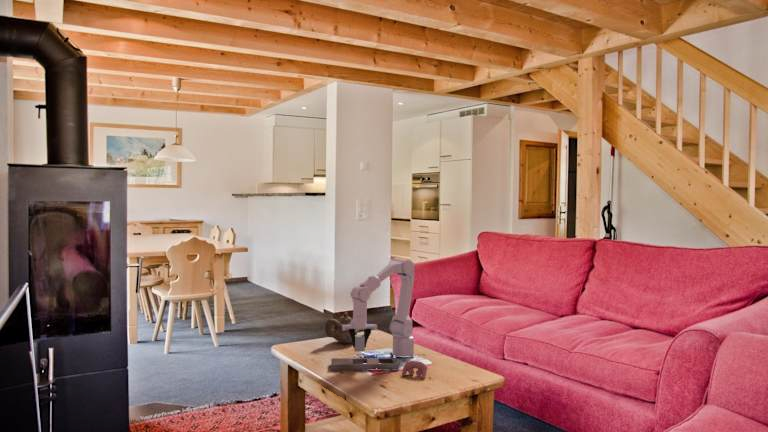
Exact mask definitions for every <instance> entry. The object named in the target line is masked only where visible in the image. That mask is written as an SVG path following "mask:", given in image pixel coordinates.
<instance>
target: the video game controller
mask: <svg viewBox="0 0 768 432" xmlns="http://www.w3.org/2000/svg"><path fill="white" fill-rule="evenodd" d="M414 369H416V371H415V370H414ZM427 371H428V366H427V365H426V364H425V363H424V362H422V361H419V360H409V361H406V362H405V363H404V365H403V368H402V371H401V376H402V377H405V376H406V375H407V373H408V374H409V375H410V376H413V375H414V374H416V376H418V377H421V378H422V380H424V379H425V378H426V377H427Z"/></svg>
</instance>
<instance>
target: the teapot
mask: <svg viewBox="0 0 768 432" xmlns="http://www.w3.org/2000/svg"><path fill="white" fill-rule="evenodd" d="M339 320H340V321H339ZM339 320H337V319H334V318H329V319H328V320H327V319H326V322H325V326H324V332H325V335H326V336H327V337H328V338H333V339H334V340H335V341H337V342H339V343H341V344H343V345H344V344H345V345H346V344H353V343H352V339H351V336H350V333H349V331H348V330H345V331H343V330H342V325H348V324H353V319H352V317H350V316H349V313H348V312H346V311H344V312H343V315H342V316H340V318H339ZM332 325H333V326H334V327H332ZM331 328H332V329H331ZM359 331H360V330H355V335H358V333H359Z"/></svg>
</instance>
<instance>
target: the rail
mask: <svg viewBox="0 0 768 432" xmlns="http://www.w3.org/2000/svg"><path fill="white" fill-rule="evenodd" d="M330 361H331V362H330V363H331V366H330V368H331V369H330V370H331V372H332V371H333V372H335V371H339V372H340V371H342V372H343V371H344V372H345V371H348V372H349V371H368V370H367V369H376V368H377V369H395V370H394V371H399V369H400V368H399V367H400V366H399V365H400V364H399V361H398V358H392V357H371V358H368V357H367V358H366V357H363V358H362V357H359V358H358V357H357V358H356V357H353V358H352V357H351V358H343V357H342V358H341V357H340V358H339V357H338V358H336V357H335V358H331V359H330ZM363 363H367V364H363ZM379 363H381V364H379ZM396 369H397V370H396Z"/></svg>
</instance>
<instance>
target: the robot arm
mask: <svg viewBox="0 0 768 432" xmlns="http://www.w3.org/2000/svg"><path fill="white" fill-rule="evenodd" d="M415 267H416V266H415V263H414V261H412V260H411V259H405V258H400V257H397V256H396V257H393V258H392V259H391V260H389V261H388V264H387V265H386V266H385V267H383V269H381V270H380V271H379V272H378V273H377V274H376V275H369V276H368V277H367V278H366V280H364V281H363V282H362V283H360V284H359V285H355V286H354V287H353V288H352V290H351V292H350V297H351V299H352V303H353V305H352V306H353V309H352V320H353V324H348V325H342V330H343V331H345V330H348V331H349V333H350V336H351V339H352V343H351V344H352V347H353V348H354V347H355V330H359V331H361V330H363V335H364V337H365V348H366V347H367V344H368V343H367V342H368V340H369V337H370V335H371V334H372V330H373V331H374V330H375V331H376V330H378V325H377V324H376V323H367V322H368V321H367V319H368V314H367V313H368V312H367V311H368V300H370V298H371V295H372V293H373V292H375V291H376V290H377V289H378V288H379V287H381V284H382V282H383V281H385V280H386V279H387V278H389V277H390V276H392V275H393V274H397V275H398V277H399V278H400V279H401V281H400V282H401V284H400V290H399V297H398V303H397V308H396V309H397V310H396V314H394V315H393V316H392V318H391V322H390V324H389V331H390V333H391V336H392V352H393V355H395V356H410V357H414V353H415V352H414V351H415V349H414V348H415V347H414V346H415V344H414V343H415V342H414V336H413V335H412V333H413V332H414V331H413V330H414V329H413V320H412V318H411V317H410V310H411V309H410V308H411V303H412V296H413V288H414V283H415V282H414V281H415V269H416V268H415Z"/></svg>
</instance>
